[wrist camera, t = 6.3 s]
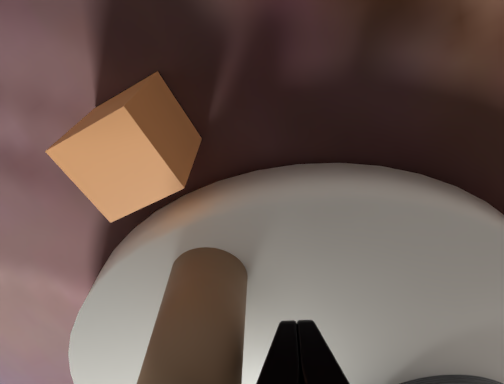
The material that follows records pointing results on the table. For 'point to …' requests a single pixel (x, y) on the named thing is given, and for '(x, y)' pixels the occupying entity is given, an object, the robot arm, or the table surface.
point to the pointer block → (130, 149)
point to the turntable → (301, 280)
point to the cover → (452, 380)
